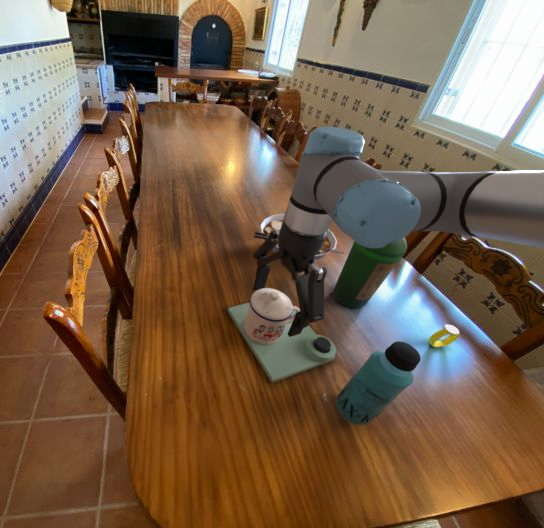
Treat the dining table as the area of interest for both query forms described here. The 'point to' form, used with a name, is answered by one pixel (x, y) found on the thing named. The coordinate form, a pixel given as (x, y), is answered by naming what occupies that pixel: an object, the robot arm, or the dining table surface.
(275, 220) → the ramen bowl
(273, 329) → the teacup with lid
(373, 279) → the bottle
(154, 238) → the dining table surface
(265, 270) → the robot arm
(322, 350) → the button
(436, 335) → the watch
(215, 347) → the dining table surface
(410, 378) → the beverage bottle
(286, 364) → the scale
